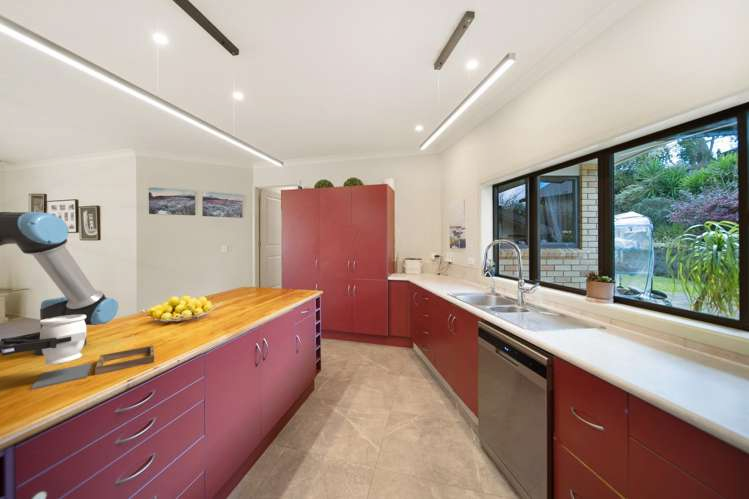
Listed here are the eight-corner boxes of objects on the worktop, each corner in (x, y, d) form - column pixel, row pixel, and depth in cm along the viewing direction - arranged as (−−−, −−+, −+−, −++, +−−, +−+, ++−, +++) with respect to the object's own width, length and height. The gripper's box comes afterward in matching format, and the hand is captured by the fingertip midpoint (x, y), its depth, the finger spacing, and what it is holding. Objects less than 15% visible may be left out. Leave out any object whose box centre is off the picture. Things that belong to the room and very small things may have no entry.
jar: (53, 368, 85) (53, 322, 85) (30, 365, 87) (31, 320, 87) (93, 355, 96) (94, 314, 96) (72, 353, 98) (73, 313, 98)
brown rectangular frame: (100, 361, 103) (100, 355, 103) (153, 351, 114) (153, 345, 114) (95, 375, 92) (95, 368, 92) (154, 362, 103) (154, 355, 103)
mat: (43, 373, 93) (43, 372, 93) (92, 364, 101) (92, 362, 101) (30, 389, 82) (30, 388, 82) (86, 377, 90) (86, 376, 90)
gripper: (-30, 356, 83) (75, 337, 101) (-32, 375, 70) (88, 349, 89) (-30, 333, 83) (75, 318, 101) (-32, 347, 70) (89, 327, 89)
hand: (81, 332), depth 95 cm, fingers closed on jar, 10 cm apart
